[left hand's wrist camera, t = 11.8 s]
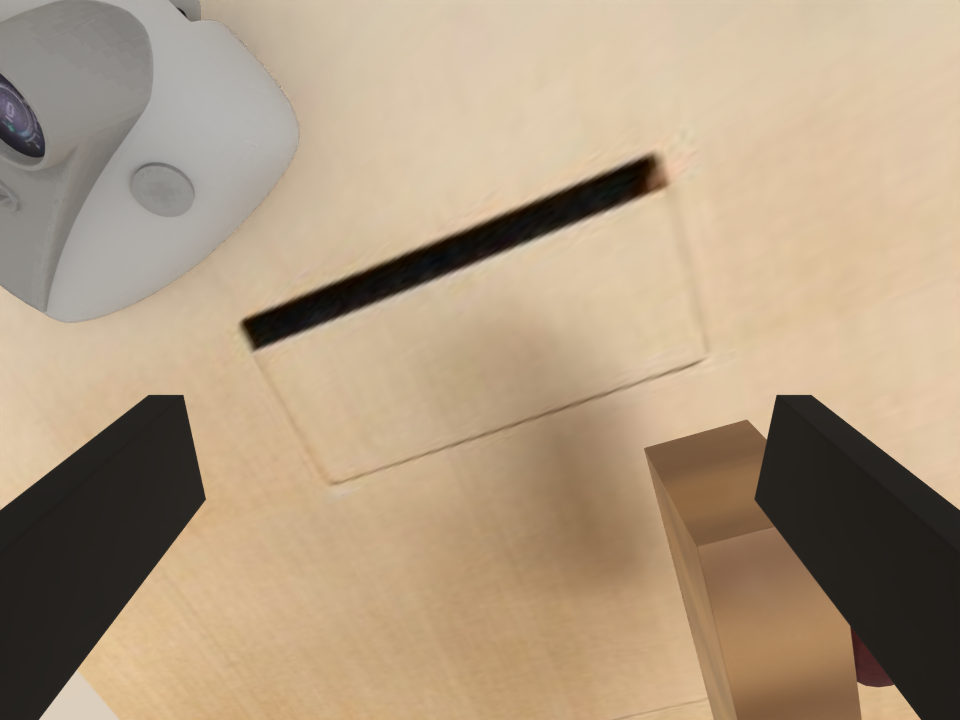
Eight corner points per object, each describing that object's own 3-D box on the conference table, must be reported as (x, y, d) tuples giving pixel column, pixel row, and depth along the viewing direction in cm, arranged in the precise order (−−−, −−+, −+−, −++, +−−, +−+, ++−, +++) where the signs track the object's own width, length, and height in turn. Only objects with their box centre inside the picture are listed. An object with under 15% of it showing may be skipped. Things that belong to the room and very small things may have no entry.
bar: (643, 447, 33) (696, 547, 25) (747, 419, 32) (836, 511, 24) (713, 717, 40) (770, 859, 32) (797, 699, 40) (876, 839, 32)
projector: (-98, -46, 33) (-503, -174, 19) (288, -66, 33) (152, -211, 19) (29, 315, 41) (-193, 402, 28) (340, 302, 41) (270, 384, 27)
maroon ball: (808, 643, 53) (854, 714, 47) (798, 582, 50) (845, 649, 44) (888, 624, 52) (947, 694, 46) (882, 561, 50) (944, 626, 43)
